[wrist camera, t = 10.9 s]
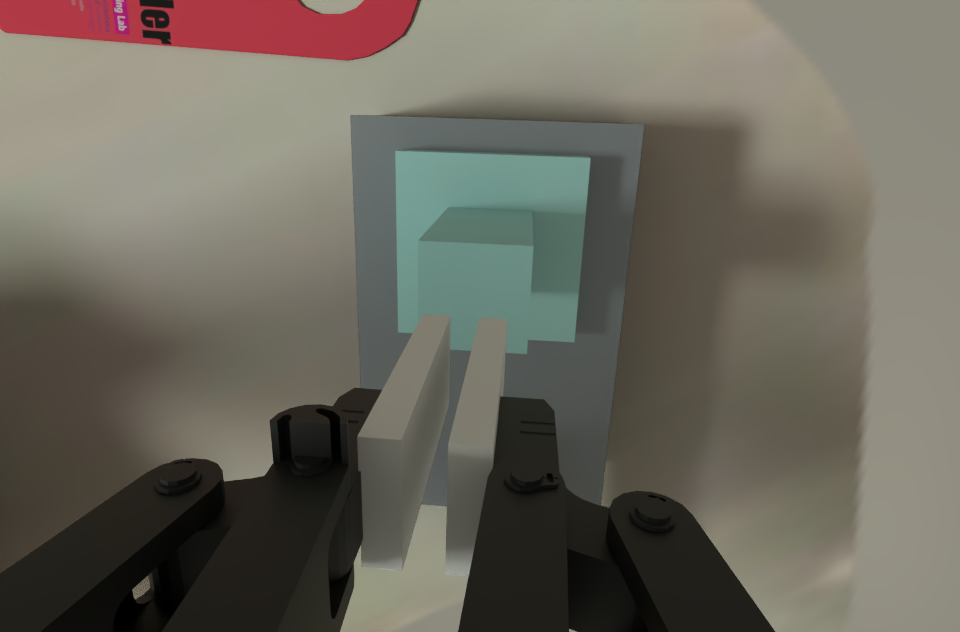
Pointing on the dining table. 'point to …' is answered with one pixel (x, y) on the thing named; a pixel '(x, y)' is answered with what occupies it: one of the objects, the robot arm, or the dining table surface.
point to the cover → (491, 242)
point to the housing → (548, 364)
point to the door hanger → (217, 24)
